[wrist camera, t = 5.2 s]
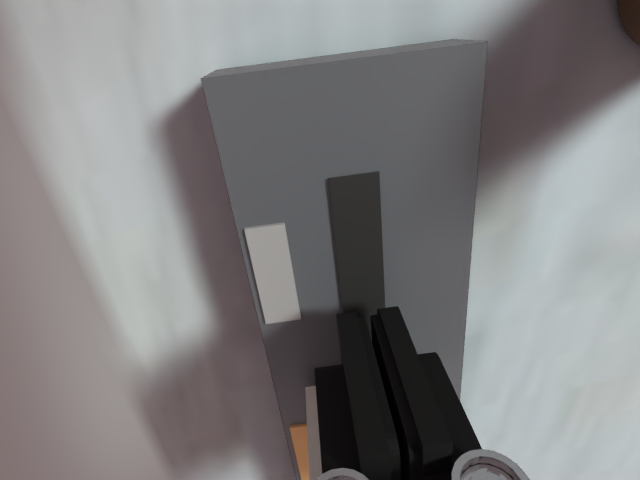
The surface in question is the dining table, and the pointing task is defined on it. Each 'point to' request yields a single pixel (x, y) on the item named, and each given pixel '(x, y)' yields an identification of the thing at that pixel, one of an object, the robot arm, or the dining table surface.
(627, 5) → the tool handle
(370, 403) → the robot arm
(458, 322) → the switch board
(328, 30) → the dining table surface
